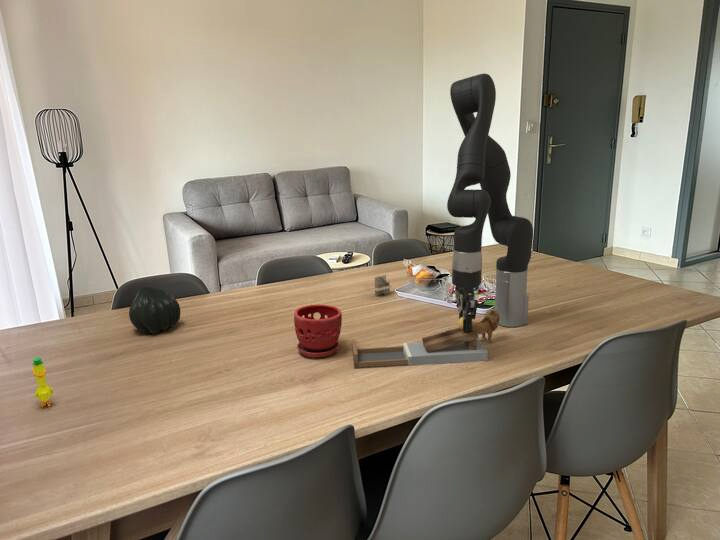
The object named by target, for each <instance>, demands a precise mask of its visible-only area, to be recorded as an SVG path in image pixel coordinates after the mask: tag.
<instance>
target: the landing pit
mask: <svg viewBox="0 0 720 540" xmlns="http://www.w3.org/2000/svg"><path fill="white" fill-rule="evenodd" d="M351 346H352V349H351V351H352V352H351V353H352V354H351V355H352V360H353V367H354V368H353V369H355V370H357V369H369V368H387V367H388V368H389V367H405V366H409V365H408V359H406V357H405V355H404V352H403V345H400V346H399V345H398V346H396V345H395V346H384V347H383V346H381V347H380V346H379V347H364V348H358V347H357V341H356V340H351Z"/></svg>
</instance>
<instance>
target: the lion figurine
mask: <svg viewBox="0 0 720 540" xmlns="http://www.w3.org/2000/svg"><path fill="white" fill-rule="evenodd" d="M499 320H500V315H499V313H498V310H495V308H490V309H489V310H487V311H486V314H485V316H484V317H483V319H482V320H480V321H479V320H478V321H472V327H473V330H474V331H477V333H478V335H481V340H483V341H486V340H487V342H488V343H490V344H493V342H494V341H493V340H492V337H493V332H494V331H496V330H497V329H498V327H499V325H498V324H499ZM486 334H487V337H486Z"/></svg>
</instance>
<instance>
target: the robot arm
mask: <svg viewBox="0 0 720 540" xmlns="http://www.w3.org/2000/svg"><path fill="white" fill-rule="evenodd" d="M449 94H450V100H451V104H452V107H453V111H454V112H455V115H456V118H457V120H458V123H459V125H460V128H461V130H462V132H463V135H464V138H463V140H462V141H461V144H460V146H459V149H458V151H457V160H456V162H457V163H456V174H455V179H454V183H453V186H452V188H451V191H450V192H449V196H448V198H447V204H446V206H447V207H446V208H447V211H448V213H449V215H450V216H452V217H453V218H469V219H470V218H472V219H473V218H474V219H475V220H474V221H473V222H472V223H470V224H467V225H461V226H458V227H456V228H455V229H454V232H453V252H452V263H451V264H452V265H451V266H452V268H451V271H452V272H451V283H452V285H454V286H455V300H456V308H457V312H458V313H459V314H458V320H459V319H460V318H461V317H463V331H464V332H465V333H466V332H471V331H472V322H473V320H476V318H477V317H476V315H477V309H478V304H479V301H478V299H476V292H475V290H474V289H475V288H476V287H480V286H481V284H482V276H483V275H482V270H483V256H482V255H483V254H482V245H483V243H482V242H483V232H484V226H485V222H486V219H487V218H488V222H489V228H490V231H491V232H490V233H491V236H492V237H493V239H494V240H493V241H495V242H496V243H498V244H500V245H502V246H506V247H507V250H506V251H507V252H506V255H505V256H500V257H499V258H497V259H496V262H495V263H496V264H495V266H496V267H495V289H494V291H495V292H494V293H495V295H494V309H495V310H498V313H499V315H500V320H499V324H498V326H502V327H506V328H507V327H509V328H517V327H521V326H524V325H528V320H529V318H528V317H529V300H530V299H529V298H530V295H529V293H527V288H528V286H527V285H528V269H529V268H528V267H529V263H530V261H531V257H532V252H533V251H532V250H533V240H534V227H533V223H532V222H531V221H530V220H529V219H528V218H525V217H523V216H517V215H512V213H511V211H510V210H511V209H510V208H509V203H508V200H507V199H508V198H507V193H508V190H509V187H510V181H511V175H512V174H511V167H510V165H509V161H508V157H507V154H506V152H505V149H504V148H503V147H502V146H501V145H500V143H499V142H497V141H496V140H495V139H494V138H493V137H491V136H490V135H489V133H490V129H491V125H492V122H493V121H492V120H493V117H494V111H495V105H496V99H497V98H496V97H497V93H496V84H495V82H494V79H493V78H492V77H491V75H490V74H488V73H479V74H476V75H472V76H469V77H465V78H463V79H459V80H455V81H454V82H452V84H451V86H450V90H449ZM475 113H476V116H475ZM478 184H479V185H480V189H466V188H468V187H471V186H475V185H478Z"/></svg>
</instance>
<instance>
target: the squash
mask: <svg viewBox="0 0 720 540" xmlns="http://www.w3.org/2000/svg"><path fill="white" fill-rule="evenodd" d="M128 316H129V320H130V323H131V324H132V326H134V327H135V329H137V330H138V331H140V332H141V333H143V334H150V333H151V334H158V333H160V332H161V330H167V329H168V328H171V327H173V326H175V325H176V324H178V323H179V320H180V318H181V307H180V304H179V302H178V300H176V298H175V296H174V295H172V294H171V293H170V292H168V291H166V290H163V289H161V288H156V287H152V286H141V287H140V288H139V289H138V291H137V293H136V295H135V298H134V299H133V301H132V303H131V305H130V308H129V311H128Z"/></svg>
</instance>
